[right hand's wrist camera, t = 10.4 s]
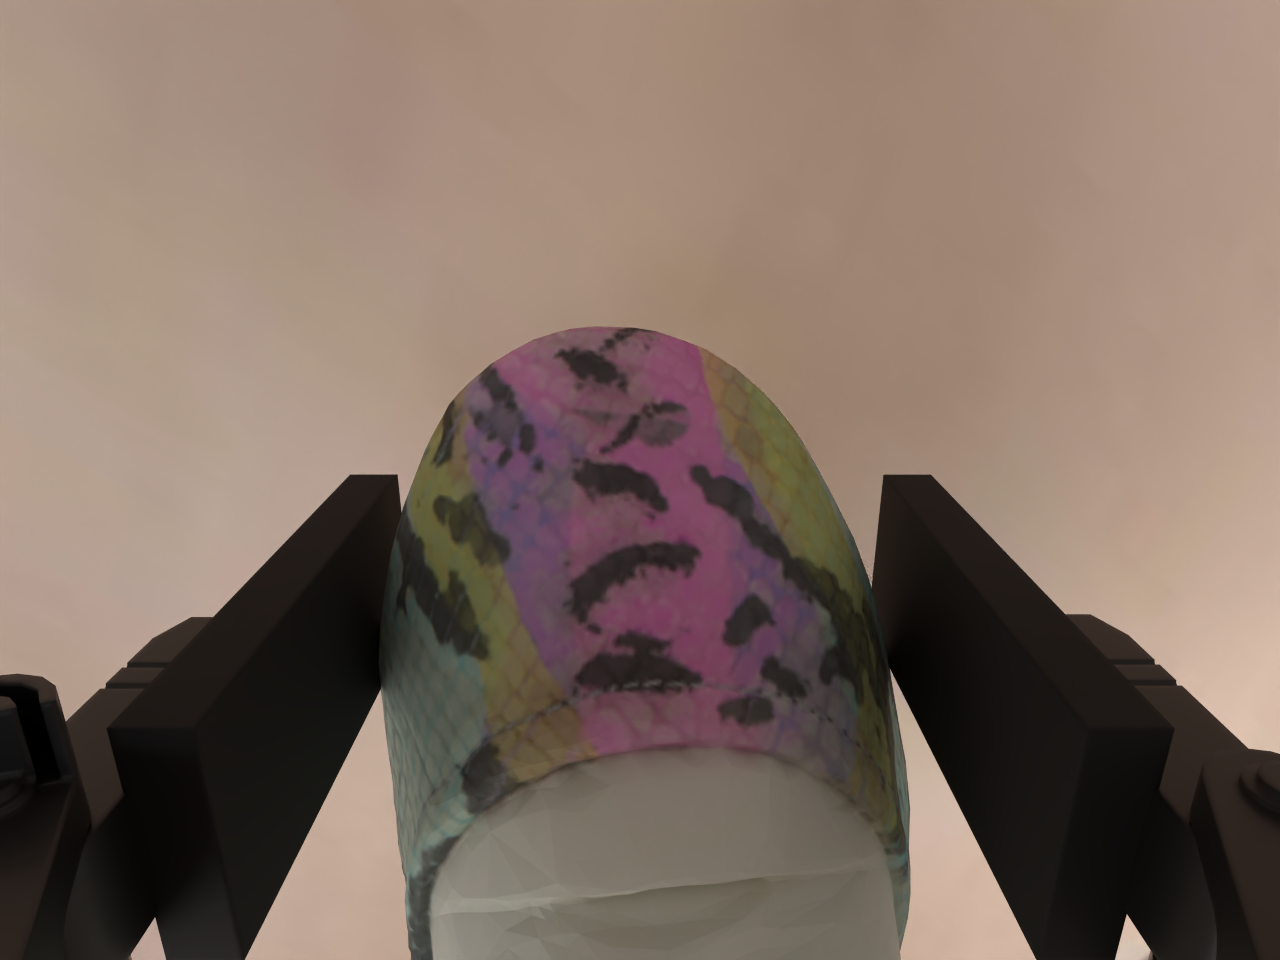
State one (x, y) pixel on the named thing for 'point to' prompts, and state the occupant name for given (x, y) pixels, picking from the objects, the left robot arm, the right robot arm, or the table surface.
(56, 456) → the table surface
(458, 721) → the ballet flat
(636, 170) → the table surface
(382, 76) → the table surface
